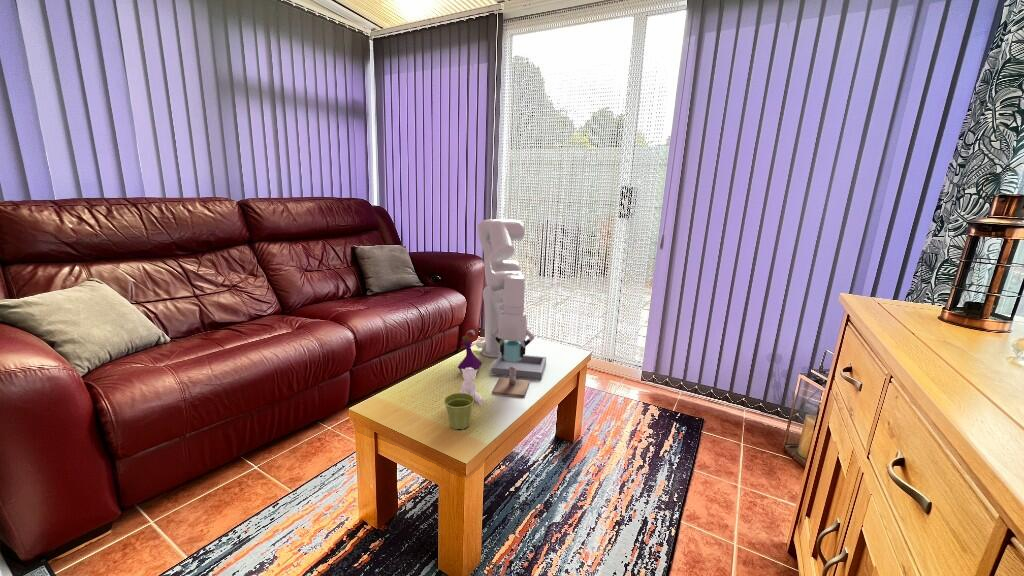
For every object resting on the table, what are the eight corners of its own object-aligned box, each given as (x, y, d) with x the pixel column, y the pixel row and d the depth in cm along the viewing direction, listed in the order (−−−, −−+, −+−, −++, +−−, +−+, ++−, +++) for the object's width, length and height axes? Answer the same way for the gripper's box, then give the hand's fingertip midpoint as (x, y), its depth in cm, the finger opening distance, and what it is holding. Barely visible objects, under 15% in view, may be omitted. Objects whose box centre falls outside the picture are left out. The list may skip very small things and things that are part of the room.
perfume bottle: (457, 374, 166) (456, 331, 162) (466, 367, 173) (465, 326, 169) (474, 377, 163) (473, 334, 159) (482, 370, 170) (482, 328, 166)
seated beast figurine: (455, 407, 141) (455, 374, 138) (454, 395, 149) (453, 364, 146) (483, 405, 143) (483, 372, 140) (480, 393, 151) (480, 362, 148)
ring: (501, 360, 152) (502, 345, 151) (506, 352, 160) (506, 337, 159) (519, 362, 151) (520, 347, 150) (523, 354, 159) (523, 339, 157)
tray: (491, 374, 166) (491, 367, 166) (500, 359, 182) (500, 352, 181) (541, 379, 163) (541, 372, 162) (546, 363, 178) (546, 357, 177)
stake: (491, 394, 150) (491, 374, 149) (499, 379, 162) (499, 361, 160) (524, 397, 148) (524, 378, 146) (529, 383, 160) (530, 364, 158)
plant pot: (442, 433, 125) (442, 407, 124) (445, 417, 135) (445, 392, 133) (473, 433, 126) (473, 407, 124) (474, 416, 135) (474, 392, 133)
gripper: (487, 310, 148) (487, 356, 153) (535, 314, 145) (534, 361, 149) (492, 304, 155) (492, 349, 160) (538, 308, 152) (537, 353, 157)
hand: (512, 354), depth 155 cm, fingers closed on ring, 6 cm apart
